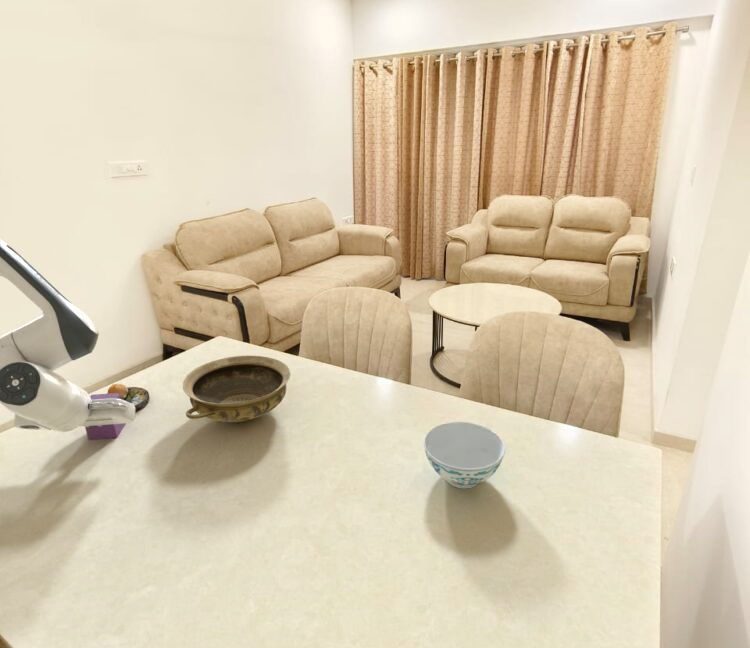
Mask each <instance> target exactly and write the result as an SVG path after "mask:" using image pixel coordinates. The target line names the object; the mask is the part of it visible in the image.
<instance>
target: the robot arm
mask: <svg viewBox="0 0 750 648" xmlns="http://www.w3.org/2000/svg"><path fill="white" fill-rule="evenodd" d="M0 277H3V278H4V279H7V280H8V282H10V283H12V284H13V285H14V286H15V287H16V288H17V289H18V290H19V291H20V292H21V293H23V294H24V295H25V296H26V298H28V299H29V300H30V301H31V302H32V303H33V304H34V305H36V306H37V307H38V308H39V309H40V310H41V311H42V314H41V315H40V316H38V317H36V318H35V319H33V320H31V321H29V322H28V323H26V324H24V325H22V326H20V327H17V328H16V329H14V330H11V331H9V332H7V333H5V334H3V335H1V336H0V404H1V406H3V407H4V408H5V409H7V410H8V411H10V412H11V413H13V414H14V420H13V427H14V428H16V429H20V430H30V431H43V430H47V431H55V432H58V433H66V432H67V433H68V432H71V431H74V430H76V429H78V428H81V427H87V428H89V427H102V426H103V425H109V424H122V423H126V424H131V423H133V422H134V421H135V419H136V418H135V417H136V411H135V406H134V405H133V404H131V403H129V402H127V401H124V400H121V399H115V398H111V399H96V400H91V398H90V396H91V395H90V394H89V393H88V392H87V391H86V390H85V389H83V388H81V387H80V386H78V385H76V384H75V383H73V382H71V381H69V380H67V379H65V378H64V377H63V376H62V375H60V374H59V373H57V372H55V371H56V370H59V369H60V368H62V367H64V366H65V365H67V364H69V363H70V362H72V361H74V362H75V361H77V360H78V359H80V358H83V357H85V356H87V355H89V354H92V352H93V351H94V349H95V347H96V345H97V343H98V340H99V335H100V334H99V333H100V332H99V331H98V328H97V327H96V324H95V322H94V321H93V320H92V318H90V317H89V315H87V314H86V313H85V312H84V311H83V310H81V309H80V308H78V307H77V306H75V304H73V303H72V302H71V301H70V300H69V299H68V298H66V297H65V296H64V295H63V294H62V293H61V292H60V291H59V290H58V289H57V288H56V287H55V286H54V285H53V284H52V283H50V282H49V280H47V279H46V278H45V277H44V276H43V275H42V274H41V273H40V272H39V271H38V270H37V269H35V267H33V266H32V265H31V264H30V263H29V261H27V260H26V259H25V258H23V257H22V256H21V255H20V254H19V252H17V251H16V250H15V249H14V248H12V247H11V246H10V245H9V244H8V243H7V242H5V241H4V240H2V239H1V238H0Z"/></svg>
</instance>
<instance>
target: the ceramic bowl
mask: <svg viewBox="0 0 750 648" xmlns="http://www.w3.org/2000/svg"><path fill="white" fill-rule="evenodd" d="M290 377H291V370H290V368H289V366H288V365H287V364H286V363H284V362H282V361H281V360H278V359H276V358H273V357H268V356H262V355H250V354H249V355H235V356H234V355H233V356H229V357H224V358H220V359H215V360H211V361H209V362H207V363H204V364H202V365H200V366H198V367H196V368H194V369H193V370H192V371H190V372H189V373H188V374H187V375H186V376H185V377H184V380H183V382H182V390H183V392H184V394H185V395H187V396H188V397H189V402H190V404H191V407H192V408H189V409H188V410H187V411H186V412H185V416H186V418H188V419H191V420H199V419H203V418H206V419H210V420H213V421H215V422H223V423H226V422H228V423H244V422H245V423H246V422H248V421H251V420H253V419H256V418H259V417H261V416H263V415H266V414H268V413H269V412H271V411H273V410H274V409H276V407H277V406H279V404H281V403H282V401H283V400H284V398H285V396H286V394H287V383H288V382H289V381H290ZM193 413H197V414H193Z"/></svg>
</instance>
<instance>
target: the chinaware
mask: <svg viewBox="0 0 750 648" xmlns="http://www.w3.org/2000/svg"><path fill="white" fill-rule="evenodd" d="M423 447H424V453H425V454H426V455H425V456H426V458H427V460H428V463H429V464H430V466H431V468H432V469H433V471H434V472H435V473H436V474H437V475H438V476H439V477H440V478H442V479H444V481H446V482H447V484H449V485H450V486H452V487H455V488H458V489H471V488H475V486H477V485H478V484H481V483H483V482H485V481H487V480H488V479H490V478H491V477H492V476H493V475H494V473H496V472H497V470H498V469H499V467H500V466H501V464H502V462H503V460H504V457H505V453H506V446H505V443H504V441H503V439H502V438H501V437H500V435H499V434H497V433H496V432H495V431H494V430H492V429H490V428H488V427H486V426H483V425H482V424H477V423H473V422H466V421H450V422H444V423H441V424H438V425H436V426H434V427H432V428H430V429H429V431H428V432H427V433H426V434H425V436H424V438H423Z"/></svg>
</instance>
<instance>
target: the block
mask: <svg viewBox="0 0 750 648" xmlns="http://www.w3.org/2000/svg"><path fill="white" fill-rule="evenodd" d="M89 396H90V398H91V400H96V399H111V398H115V399H121V398H120V393H111V394H107V393H97V394H91V395H89ZM126 424H127V423H122V424H109V425H103V426H102V427H89V428H87V427H85V426H84V427H85V432H86V435H87V440H88V441H91V440H104V439H117V438H118V437H119V436H120V434H121V432H122V431H123V429H124V428H125V426H126Z"/></svg>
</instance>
